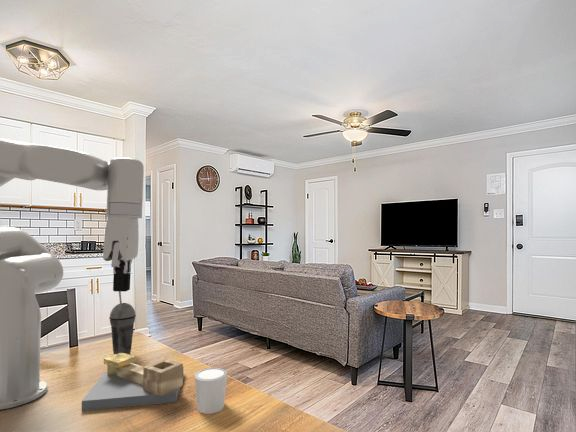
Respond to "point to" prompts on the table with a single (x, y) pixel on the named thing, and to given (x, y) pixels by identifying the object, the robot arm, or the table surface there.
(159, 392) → the link
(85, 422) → the table surface
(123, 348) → the beverage cup
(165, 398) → the board
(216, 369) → the white cylinder
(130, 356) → the block
